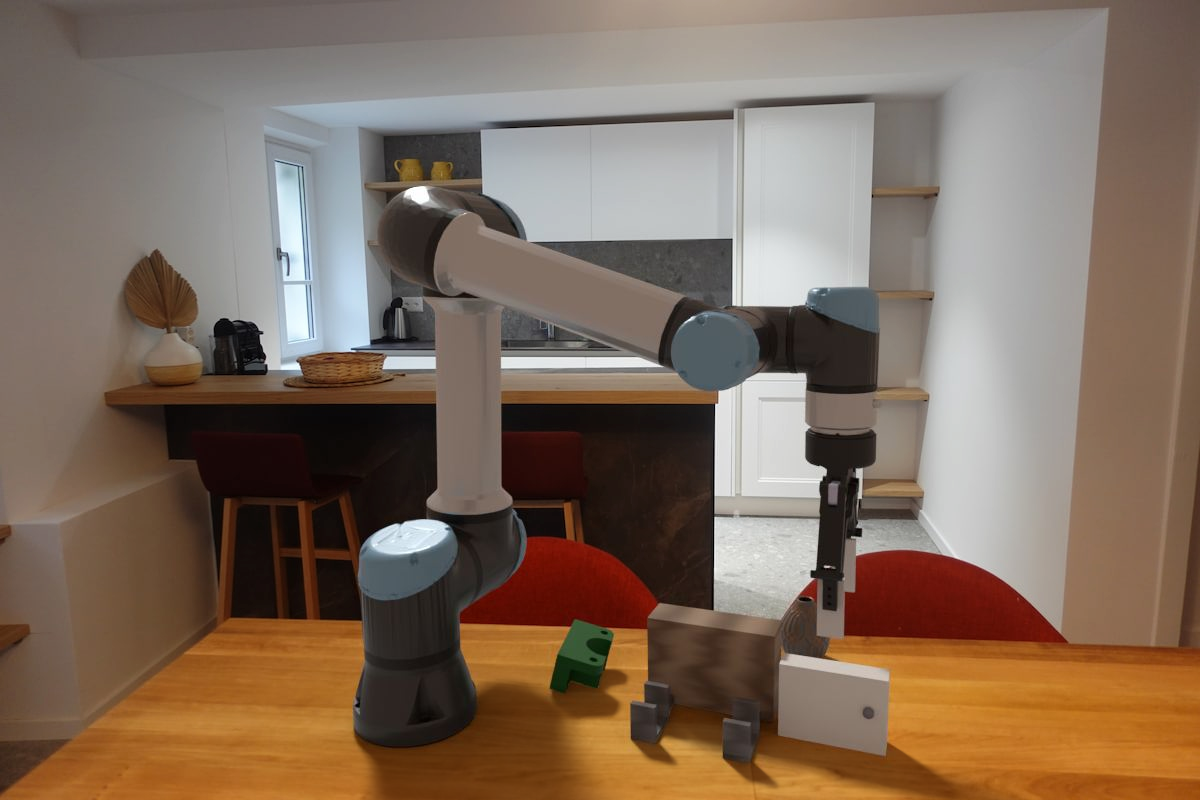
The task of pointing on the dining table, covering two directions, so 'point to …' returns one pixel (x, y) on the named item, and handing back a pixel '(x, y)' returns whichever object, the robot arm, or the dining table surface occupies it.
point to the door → (834, 703)
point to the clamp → (582, 656)
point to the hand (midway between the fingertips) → (837, 611)
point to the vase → (803, 630)
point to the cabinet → (710, 673)
